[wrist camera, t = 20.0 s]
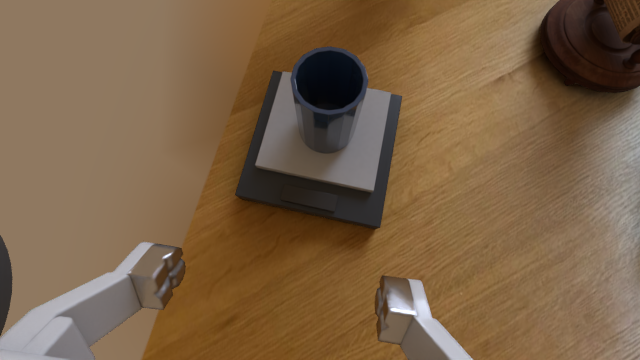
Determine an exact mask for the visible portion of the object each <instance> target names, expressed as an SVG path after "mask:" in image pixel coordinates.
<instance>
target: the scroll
mask: <svg viewBox="0 0 640 360" xmlns="http://www.w3.org/2000/svg"><path fill="white" fill-rule="evenodd" d="M540 35H541V42H542V46H543V49H544V51H545V53H546V55H547V57H548V58H549V60H550V61H551V63H552V64H553V65H554V66H555V67H556V68H557V69H558V70H559V71H560V72H561V73H562V74H563V75H564V76H566V77H567V79H566V81H565V82H564V84H565V85H566V86H568V85H572V84H574V83H577V84H579V85H581V86H583V87H586V88H589V89H592V90H595V91H600V92H608V93H617V92H625V91H629V90H632V89H634V88H637V87H639V86H640V0H559V1H558V2H557V3H556V4H555V5H554V6H553V7H552V8H551V9H550V10H549V11H548V13H547V14H546V15H545V17H544V19H543V21H542V24H541V31H540Z"/></svg>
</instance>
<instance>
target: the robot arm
mask: <svg viewBox="0 0 640 360" xmlns="http://www.w3.org/2000/svg"><path fill="white" fill-rule="evenodd" d="M182 255H183V252H182V248H179V247H173V246H167V245H161V244H155V243H148V242H142V243H140V244H138V246H137V247H136V248H135V249H134V250H133V251H132V252H131V253H130V254H129V255H128V256H127V257H126V258H125V259H124V261H123V262H122V263H121V264H120V265H119V266H118V267H117V268H116V269H115V270H114V271H113V272H112V273H106V274H104V275H102V276H100V277H98V278H96V279H94V280H92V281H90V282H88V283H86V284H84V285H81V286H79V287H77V288H76V289H73V290H71V291H69V292H67V293H65V294H63V295H61V296H59V297H57V298H55V299H53V300H51V301H49V302H47V303H45V304H42V305H41V306H38V307H36V308H34V309H32V310H30V311H29V312H28V313H27V314H26V315H25V316H24V317H22V319H20V320H19V321H18V322H17V323H16V324H15V325H14V326H13V327H12V328H10V329H9V330H8V331H7V332H6V333H5V334H4V335H3V336H2V337H1V338H0V360H95V356H94V354H93V353H92V351H91V349H90V348H89V347H90V346H91V345H93V344H94V343H95V342H97V341H98V340H100V339H101V338H102V337H104V336H105V335H106V334H108V333H109V332H111V331H112V330H113V329H114V328H116V327H117V326H119V325H120V324H121V323H123V322H124V321H125V320H127V319H128V318H130V317H131V316H132V315H134V314H135V313H136V312H138V311H139V310H141V307H142V308H151V309H159V310H164V308H165V307H166V305H167V304H168V302H169V301H170V299H171V297H172V296H173V292H172V289H174V288H176V287H177V286H179V285H180V283H181V281H182V280H183V277H184V274H185V269H186V266H185V262H184V261H183V260H182V259H181V257H182ZM375 314H376V315H377V316H378V321H377V324H376V326H377V336H378V341H381V342H386V343H392V344H398V345H400V347H401V348H402V350H403V352H404V353H405V355H406V356H407V358H408V360H473V359H472V358H471V357H470V356H469V355H468V353H467V352H466V351H465V350H464V349H463V348H462V347H461V346H460V345H459V344H458V342H457V341H456V340H455V339H454V338H453V337H452V336H451V335H450V334H449V333H448V331H447V330H446V329H445V328H444V327H443V326H442V325H441V324H440V323H439V322H438V320H437V319H432V315H431V312H430V308H429V305H428V301H427V298H426V295H425V291H424V288H423V284H422V282H421V281H420V280H413V279H406V278H399V277H391V276H383V275H382V277H381V279H380V288H378V289H377V291H376V296H375Z"/></svg>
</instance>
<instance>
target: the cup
mask: <svg viewBox="0 0 640 360" xmlns="http://www.w3.org/2000/svg"><path fill="white" fill-rule="evenodd" d="M290 80H291V86H292V92H293V98H294V104H295V110H296V116H297V122H298V128H299V134H300V137H301V139H302V141H303V142H304V143H305V145H306V146H307V147H309V148H310V149H312V150H313V151H316V152H319V153H324V154H329V153H335V152H338V151H340V150H342V149H343V148H345V147H346V146H347V145H348V144H349V143H350V141H351V139H352V137H353V135H354V132H355V129H356V125H357V122H358V118H359V115H360V112H361V108H362V105H363V102H364V98H365V95H366V90H367V86H368V76H367V72H366V68H365V66H364V65H363V64H362V63H361V61H360V60H359V59H358V57H356V56H355V55H353V54H352V53H350V52H348V51H347V50H345V49H341V48H336V47H322V48H316V49H314V50H312V51H310V52H308V53H306V54H304V55H303V56H302V57H301V58H300V59H299V60H298V62H297V63H296V64H295V65H294V68H293V71H292V75H291V78H290Z"/></svg>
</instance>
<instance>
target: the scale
mask: <svg viewBox="0 0 640 360" xmlns="http://www.w3.org/2000/svg"><path fill="white" fill-rule="evenodd" d="M291 75H292V73H289V72H284V71H283V72H278V71H273V73H272V76H271V80H270V83H269V86H268V89H267V93H266V96H265V99H264V102H263V106H262V109H261V112H260V115H259V119H258V122H257V125H256V128H255V132H254V135H253V138H252V142H251V145H250V148H249V151H248V155H247V158H246V161H245V164H244V168H243V171H242V174H241V177H240V181H239V184H238V187H237V190H236V194H235V195H236V196H237V197H239V198H240V199H243V200H247V201H252V202H256V203H260V204H265V205H269V206H274V207H278V208H283V209H287V210H292V211H296V212H301V213H305V214H309V215H314V216H318V217H323V218H327V219H332V220H336V221H341V222H345V223H350V224H354V225H358V226H363V227H367V228H372V229H377V228H380V225H381V219H382V213H383V207H384V201H385V195H386V189H387V183H388V177H389V171H390V165H391V159H392V153H393V147H394V141H395V135H396V129H397V123H398V117H399V111H400V105H401V99H402V96H399V95H394V94H391V93H390V92H385V91H380V90H375V89H370V88H367V90H366V95H365V98H364V102H363V105H362V108H361V112H360V115H359V118H358V122H357V125H356V129H355V132H354V135H353V137H352V139H351V141H350V143H349V144H348V145H347V146H346V147H345V148H343V149H342V150H340V151H338V152H335V153H329V154H324V153H319V152H316V151H313V150H312V149H310V148H309V147H307V146H306V145H305V143H304V142H303V141H302V139H301V137H300V134H299V128H298V122H297V116H296V110H295V104H294V98H293V92H292V86H291V80H290V78H291Z"/></svg>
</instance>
